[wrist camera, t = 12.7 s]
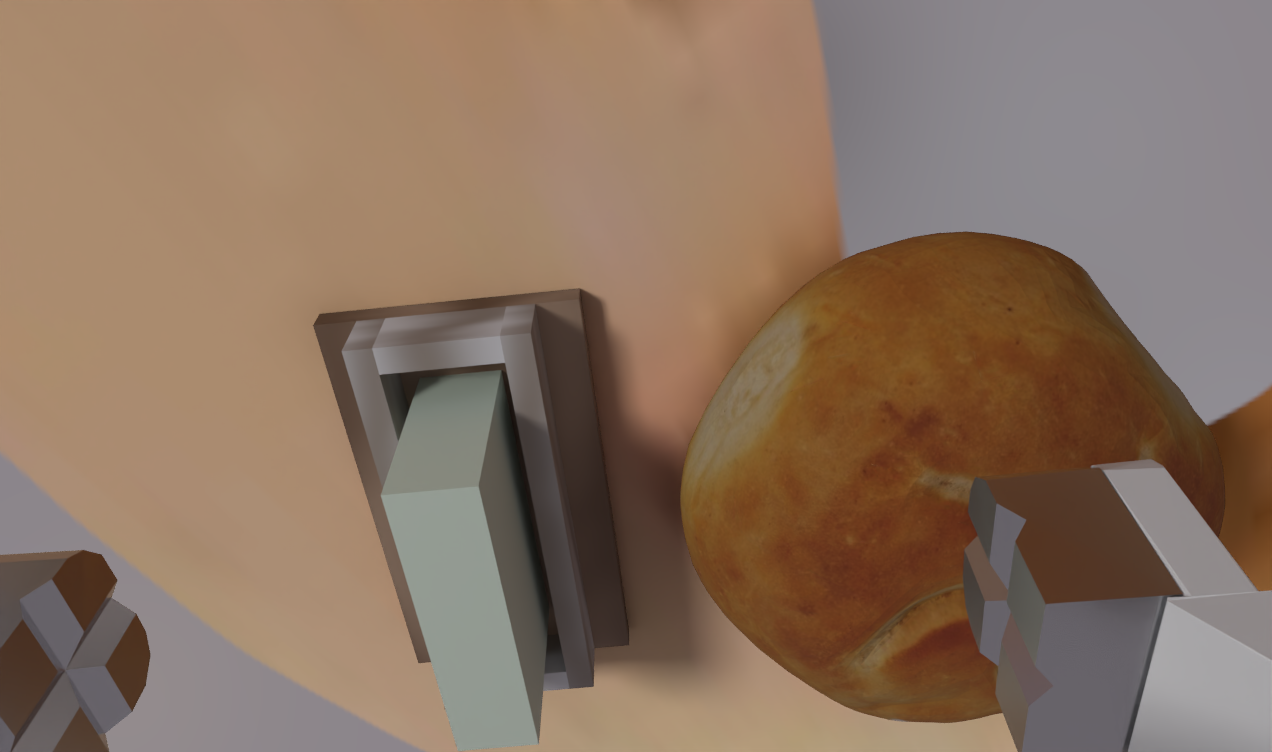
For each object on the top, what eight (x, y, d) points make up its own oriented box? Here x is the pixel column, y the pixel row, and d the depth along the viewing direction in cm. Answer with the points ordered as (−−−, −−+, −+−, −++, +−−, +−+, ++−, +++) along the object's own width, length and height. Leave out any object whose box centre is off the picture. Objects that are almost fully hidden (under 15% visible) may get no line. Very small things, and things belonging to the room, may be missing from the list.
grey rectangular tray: (579, 288, 40) (576, 328, 37) (628, 630, 50) (629, 683, 47) (319, 314, 40) (296, 355, 37) (421, 648, 50) (409, 702, 47)
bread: (1273, 252, 40) (1454, 376, 31) (1053, 645, 52) (1140, 814, 43) (739, 166, 37) (777, 275, 29) (638, 599, 49) (643, 768, 41)
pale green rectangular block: (501, 370, 40) (478, 486, 34) (549, 608, 48) (538, 744, 41) (419, 377, 41) (380, 495, 34) (480, 614, 48) (458, 750, 41)
